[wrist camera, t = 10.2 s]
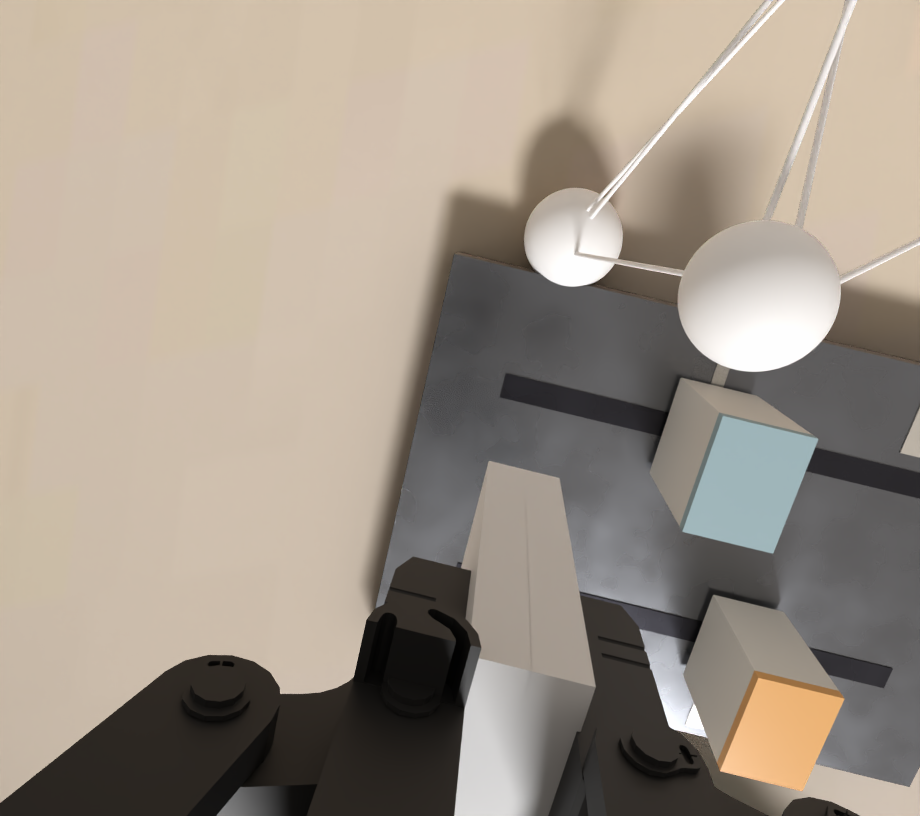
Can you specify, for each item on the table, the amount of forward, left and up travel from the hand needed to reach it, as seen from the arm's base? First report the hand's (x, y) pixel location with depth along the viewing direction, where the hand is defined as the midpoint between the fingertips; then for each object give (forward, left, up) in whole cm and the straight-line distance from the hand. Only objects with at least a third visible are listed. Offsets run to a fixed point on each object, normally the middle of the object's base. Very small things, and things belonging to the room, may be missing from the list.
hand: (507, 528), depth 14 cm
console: (+9, -5, -15) cm, 18 cm away
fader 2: (+12, -9, -13) cm, 20 cm away
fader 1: (+8, 0, -13) cm, 15 cm away
